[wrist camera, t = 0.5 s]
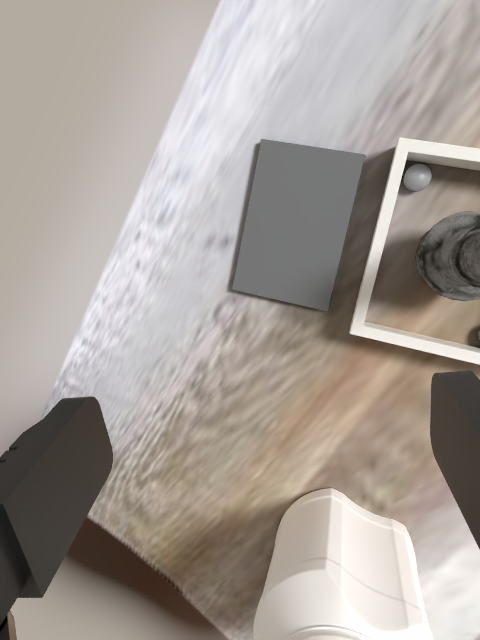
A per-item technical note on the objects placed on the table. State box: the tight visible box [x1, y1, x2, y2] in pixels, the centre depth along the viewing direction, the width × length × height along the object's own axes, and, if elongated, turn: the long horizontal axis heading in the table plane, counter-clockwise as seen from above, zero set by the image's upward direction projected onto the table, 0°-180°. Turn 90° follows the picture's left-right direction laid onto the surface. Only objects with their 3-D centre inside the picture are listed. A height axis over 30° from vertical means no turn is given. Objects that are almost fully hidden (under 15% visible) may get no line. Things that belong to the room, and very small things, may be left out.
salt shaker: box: [416, 211, 480, 301], centre depth 26 cm, size 6×6×12 cm
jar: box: [253, 488, 433, 640], centre depth 30 cm, size 12×10×15 cm
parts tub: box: [350, 138, 480, 365], centre depth 31 cm, size 14×12×2 cm
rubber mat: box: [232, 139, 365, 311], centre depth 34 cm, size 12×8×1 cm, turn 168°
